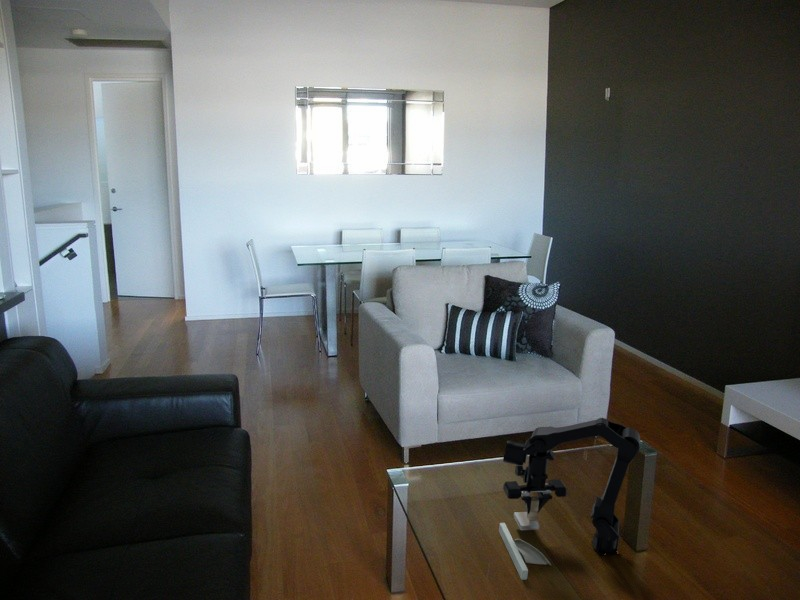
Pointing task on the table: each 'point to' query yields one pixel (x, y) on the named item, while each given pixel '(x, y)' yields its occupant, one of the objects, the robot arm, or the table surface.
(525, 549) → the ceramic fragment
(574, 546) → the table surface
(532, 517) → the plate with square post
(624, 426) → the robot arm
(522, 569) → the stop rail
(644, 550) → the table surface
